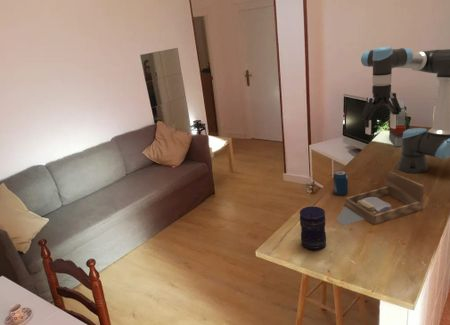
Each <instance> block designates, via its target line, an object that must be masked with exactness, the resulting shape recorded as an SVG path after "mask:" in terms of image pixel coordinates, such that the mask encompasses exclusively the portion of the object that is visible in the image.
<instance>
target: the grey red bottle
mask: <svg viewBox="0 0 450 325" xmlns="http://www.w3.org/2000/svg"><path fill="white" fill-rule="evenodd" d="M397 101H398V103H399V105H400V108H401V112H399V114H397V121H396V129H393V128H390V119H388V129H389V130H388V132H389V133H388V134H389V135H388V138H389V141H390V142H391V143H392V145H394V147H402V138H403V132H404V131H405V130H406V126H405V122H406V121H405V120H406V111H405V110H406V109H405V104H404V101H403V100H402V99H397ZM391 104H392V102H391ZM392 105H393V104H392ZM391 114H393V113H392V112H391V111H390V110H389V116H390V115H391Z"/></svg>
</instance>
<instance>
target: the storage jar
mask: <svg viewBox="0 0 450 325" xmlns="http://www.w3.org/2000/svg"><path fill="white" fill-rule="evenodd" d="M299 224H300V229H301V232H300V240H301V246H302V248H303V249H305V250H307V251H310V252H319V251H323V250H324V249H325V248H326V247H327V242H326V241H327V235H326V211H325V210H324V209H323V208H321V207H319V206H306V207H304V208H303V207H302V208H301V210H300V211H299Z"/></svg>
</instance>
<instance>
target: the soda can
mask: <svg viewBox="0 0 450 325" xmlns="http://www.w3.org/2000/svg"><path fill="white" fill-rule="evenodd" d="M332 176H333V180H332V181H333V193H334V194H335V195H337V196H339V195H340V197H341V195H343V196H346V195H347V194H348V192H349V187H348V186H349V185H348V184H349V181H348V180H349V176H348V174H347V171H346V170H343V169H342V170H341V169H340V170H339V169H338V170H336V171H334V174H333V175H332Z"/></svg>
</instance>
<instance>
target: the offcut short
mask: <svg viewBox="0 0 450 325" xmlns="http://www.w3.org/2000/svg"><path fill="white" fill-rule="evenodd" d="M356 204H358V205H359V206H361V207H363V208H364V209H366V210H368V211H369V212H374V206H373V205H371V204H370V203H368V202H366V201H365V200H359V201H357V203H356Z"/></svg>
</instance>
